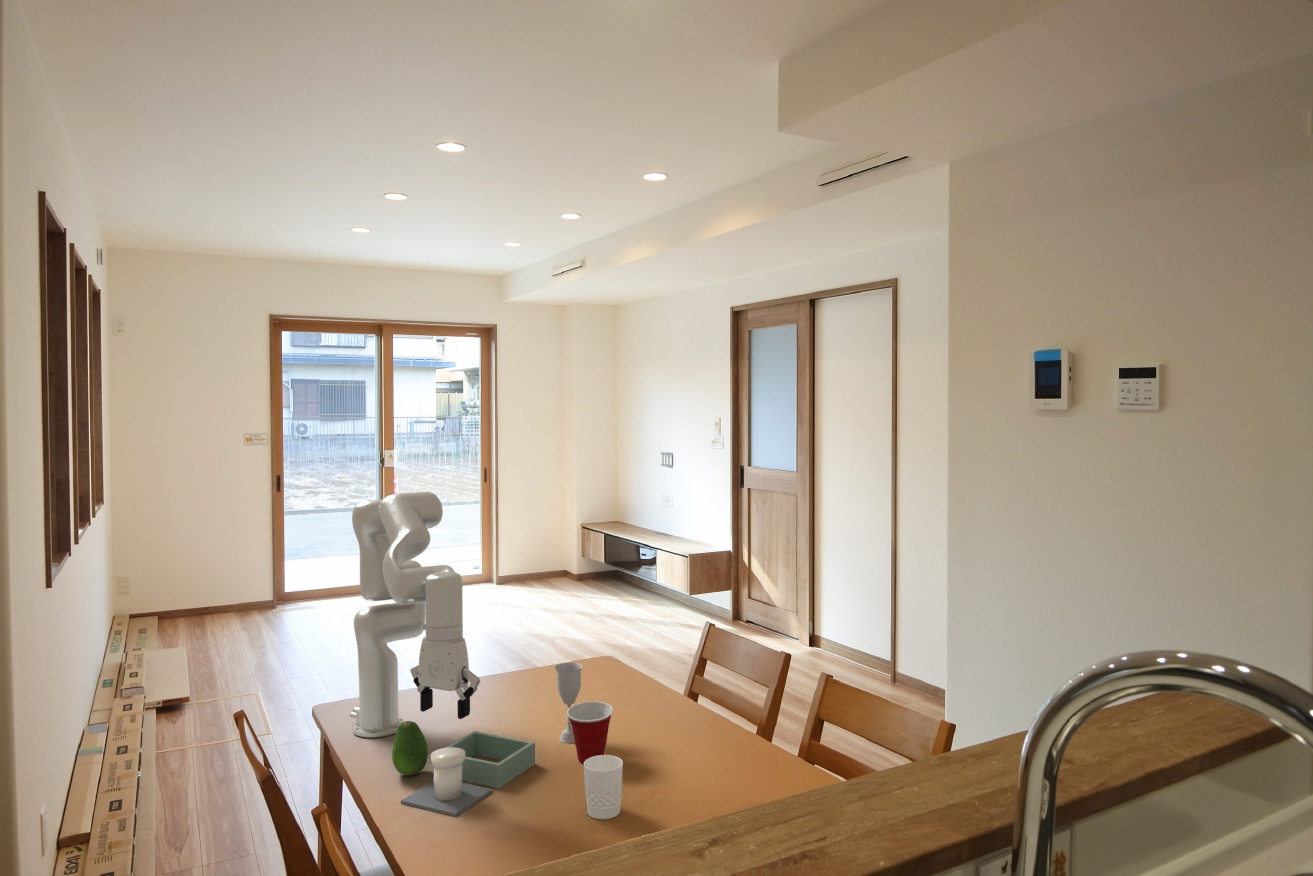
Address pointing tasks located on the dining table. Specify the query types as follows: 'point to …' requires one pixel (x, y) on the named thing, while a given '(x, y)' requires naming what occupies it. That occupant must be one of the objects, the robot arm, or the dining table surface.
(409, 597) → the robot arm
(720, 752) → the dining table surface
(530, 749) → the green open box
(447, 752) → the white mushroom shaped cylinder
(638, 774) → the dining table surface
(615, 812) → the white cup
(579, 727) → the plastic cup
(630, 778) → the dining table surface
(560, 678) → the chalice
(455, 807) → the mat
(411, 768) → the avocado
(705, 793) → the dining table surface
